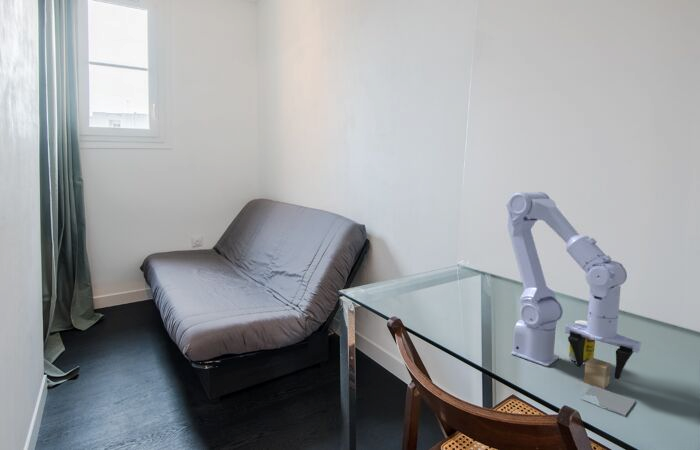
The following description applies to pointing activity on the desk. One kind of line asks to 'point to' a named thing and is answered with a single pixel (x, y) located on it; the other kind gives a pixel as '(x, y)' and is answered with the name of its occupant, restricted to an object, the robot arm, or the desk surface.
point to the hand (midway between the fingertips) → (597, 371)
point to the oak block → (597, 373)
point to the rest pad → (611, 400)
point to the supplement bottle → (588, 345)
